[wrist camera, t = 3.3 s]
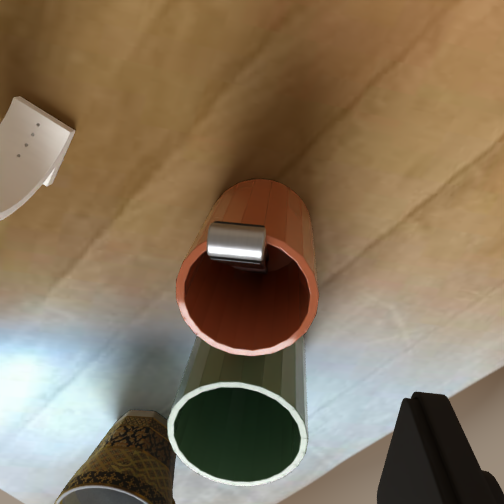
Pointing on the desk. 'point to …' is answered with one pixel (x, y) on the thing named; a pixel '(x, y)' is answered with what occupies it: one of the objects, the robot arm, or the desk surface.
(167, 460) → the ceramic cup
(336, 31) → the desk surface
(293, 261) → the terracotta cup
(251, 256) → the tongs
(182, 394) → the green cup
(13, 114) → the headphone stand
